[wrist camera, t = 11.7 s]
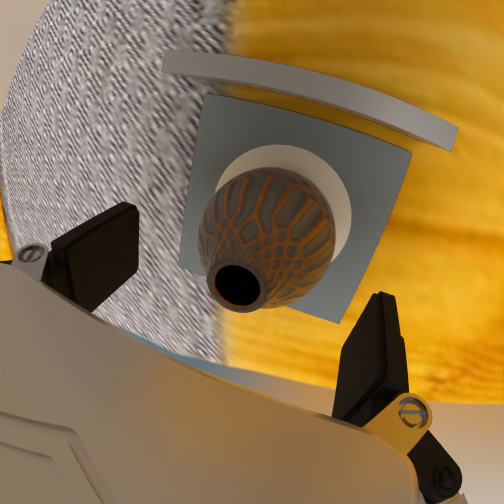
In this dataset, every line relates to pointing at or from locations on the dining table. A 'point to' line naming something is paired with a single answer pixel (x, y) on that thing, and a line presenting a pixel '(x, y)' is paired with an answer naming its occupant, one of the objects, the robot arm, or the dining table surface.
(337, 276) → the mat
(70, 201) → the dining table surface
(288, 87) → the low wall
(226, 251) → the vase
